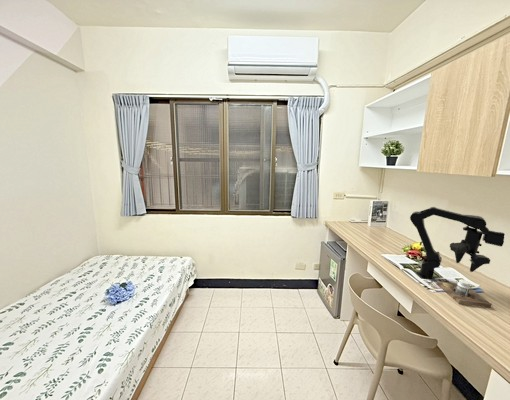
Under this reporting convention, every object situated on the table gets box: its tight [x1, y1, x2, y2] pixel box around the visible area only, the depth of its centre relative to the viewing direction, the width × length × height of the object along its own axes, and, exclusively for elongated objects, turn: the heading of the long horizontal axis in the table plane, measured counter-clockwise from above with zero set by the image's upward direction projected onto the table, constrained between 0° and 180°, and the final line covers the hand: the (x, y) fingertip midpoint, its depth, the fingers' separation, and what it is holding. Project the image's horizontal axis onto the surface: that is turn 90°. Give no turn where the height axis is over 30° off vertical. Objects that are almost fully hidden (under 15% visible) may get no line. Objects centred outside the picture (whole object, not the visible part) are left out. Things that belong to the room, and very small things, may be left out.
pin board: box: [436, 280, 493, 309], centre depth 113 cm, size 16×14×2 cm
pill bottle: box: [455, 279, 471, 297], centre depth 112 cm, size 5×5×8 cm
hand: (464, 267), depth 118 cm, fingers open, 9 cm apart
